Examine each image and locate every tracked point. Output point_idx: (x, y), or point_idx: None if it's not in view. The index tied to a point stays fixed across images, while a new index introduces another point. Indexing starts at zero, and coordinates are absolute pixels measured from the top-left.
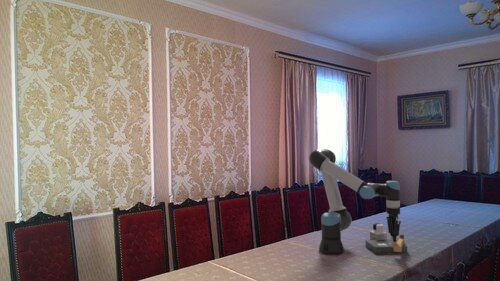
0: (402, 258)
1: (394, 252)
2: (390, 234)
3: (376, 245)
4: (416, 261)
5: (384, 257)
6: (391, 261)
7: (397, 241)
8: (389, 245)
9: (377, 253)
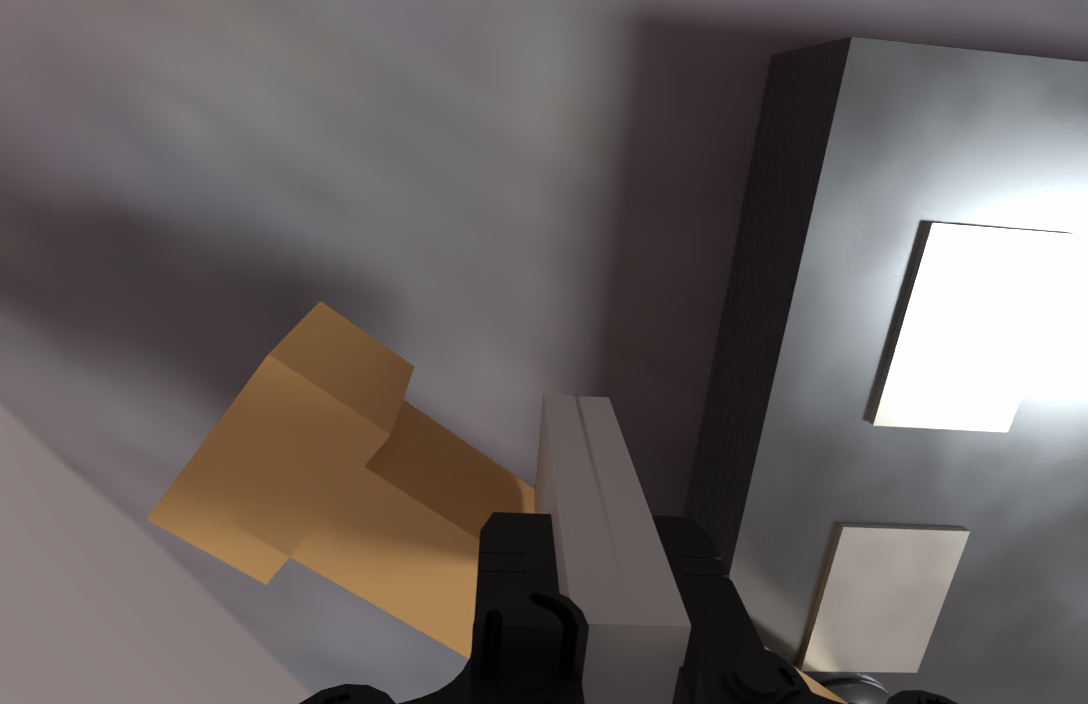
0: None
1: (700, 461)
2: (736, 664)
3: (972, 159)
4: (212, 565)
5: (502, 122)
6: (227, 127)
7: None
8: (844, 472)
9: (766, 102)
